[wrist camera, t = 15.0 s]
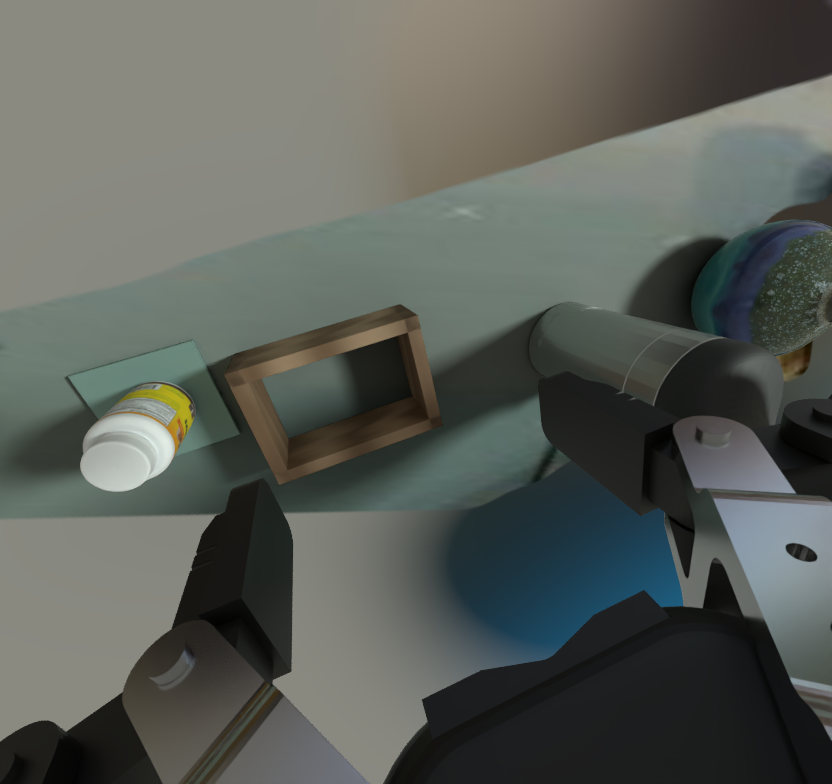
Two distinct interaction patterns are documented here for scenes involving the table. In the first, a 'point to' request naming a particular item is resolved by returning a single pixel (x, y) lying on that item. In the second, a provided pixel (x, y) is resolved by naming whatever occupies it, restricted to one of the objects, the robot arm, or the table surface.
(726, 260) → the vase
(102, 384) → the mat
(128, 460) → the supplement bottle
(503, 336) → the table surface
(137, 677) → the robot arm
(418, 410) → the box
